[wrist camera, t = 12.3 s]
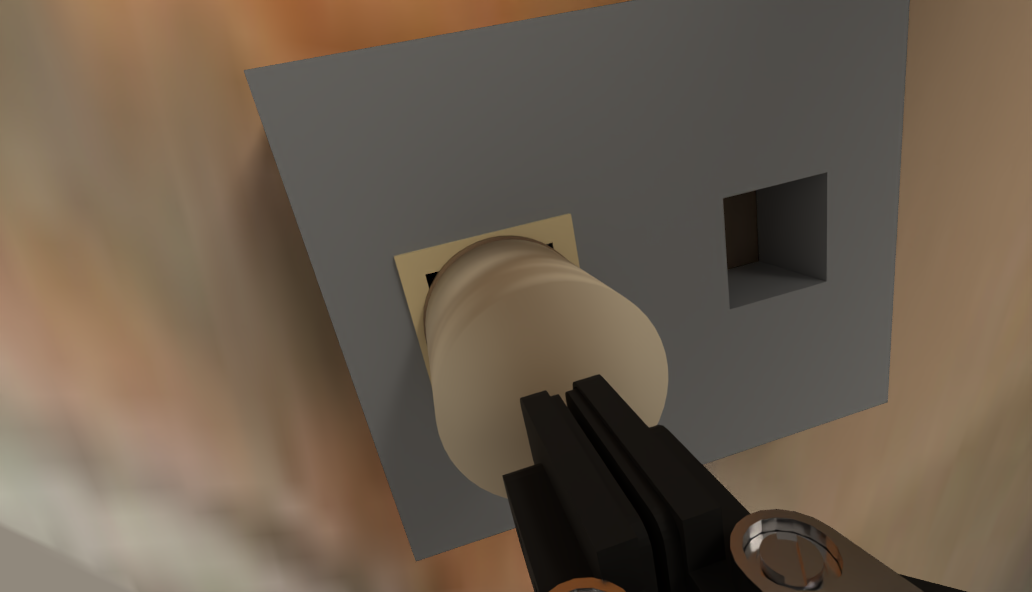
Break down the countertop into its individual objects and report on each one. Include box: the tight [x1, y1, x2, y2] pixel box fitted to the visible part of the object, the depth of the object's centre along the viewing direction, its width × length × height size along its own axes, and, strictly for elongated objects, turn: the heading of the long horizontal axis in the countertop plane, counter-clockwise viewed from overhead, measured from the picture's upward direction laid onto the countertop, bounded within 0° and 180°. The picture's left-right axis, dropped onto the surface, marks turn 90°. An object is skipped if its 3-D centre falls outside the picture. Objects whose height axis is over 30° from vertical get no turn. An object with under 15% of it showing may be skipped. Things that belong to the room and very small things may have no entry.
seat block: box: [244, 0, 910, 561], centre depth 20 cm, size 22×18×4 cm
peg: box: [423, 235, 668, 499], centre depth 16 cm, size 6×6×10 cm
